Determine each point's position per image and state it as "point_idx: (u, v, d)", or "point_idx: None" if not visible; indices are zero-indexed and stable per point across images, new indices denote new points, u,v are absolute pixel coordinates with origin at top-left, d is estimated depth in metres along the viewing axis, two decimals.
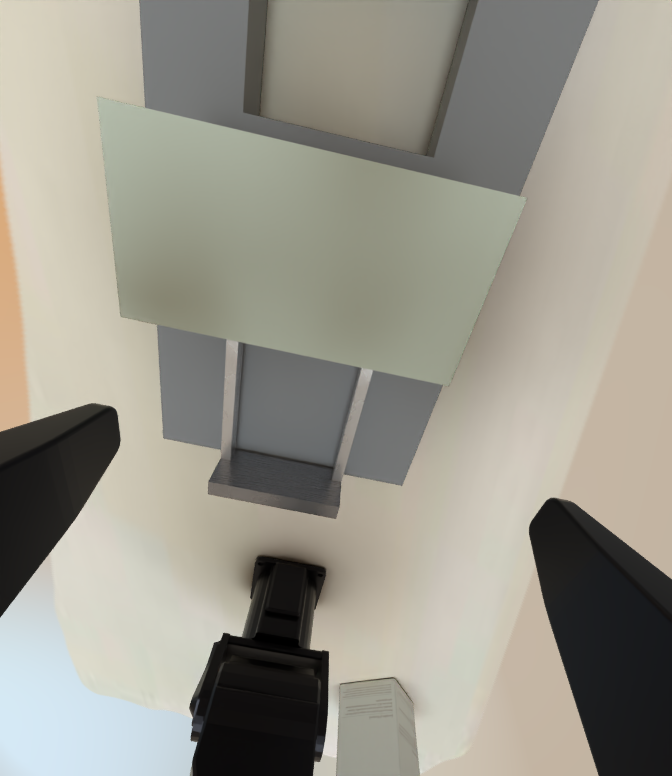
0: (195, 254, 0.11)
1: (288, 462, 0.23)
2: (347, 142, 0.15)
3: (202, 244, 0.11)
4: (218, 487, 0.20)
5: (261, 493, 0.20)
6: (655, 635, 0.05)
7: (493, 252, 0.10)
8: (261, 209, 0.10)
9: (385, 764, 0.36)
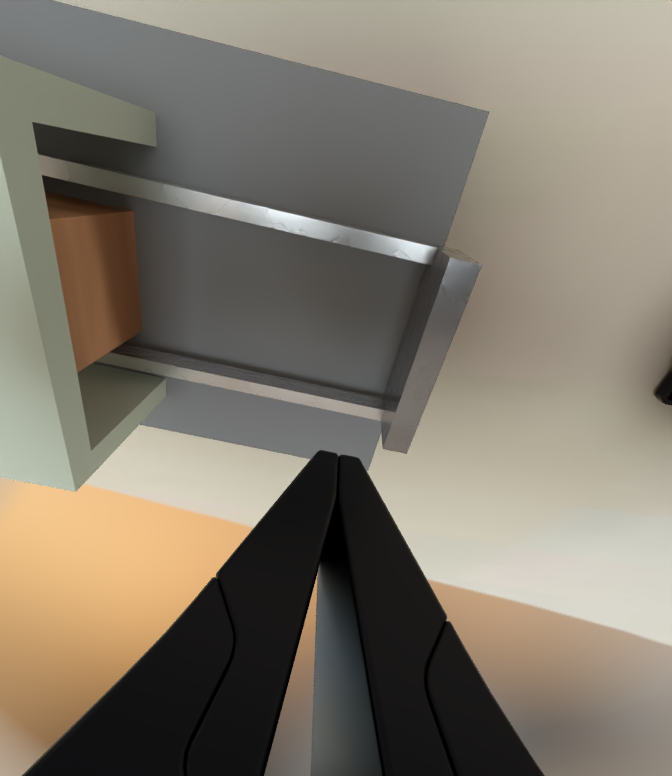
0: None
1: (405, 332, 0.15)
2: None
3: None
4: (394, 439, 0.14)
5: (408, 384, 0.13)
6: (342, 575, 0.05)
7: None
8: None
9: None
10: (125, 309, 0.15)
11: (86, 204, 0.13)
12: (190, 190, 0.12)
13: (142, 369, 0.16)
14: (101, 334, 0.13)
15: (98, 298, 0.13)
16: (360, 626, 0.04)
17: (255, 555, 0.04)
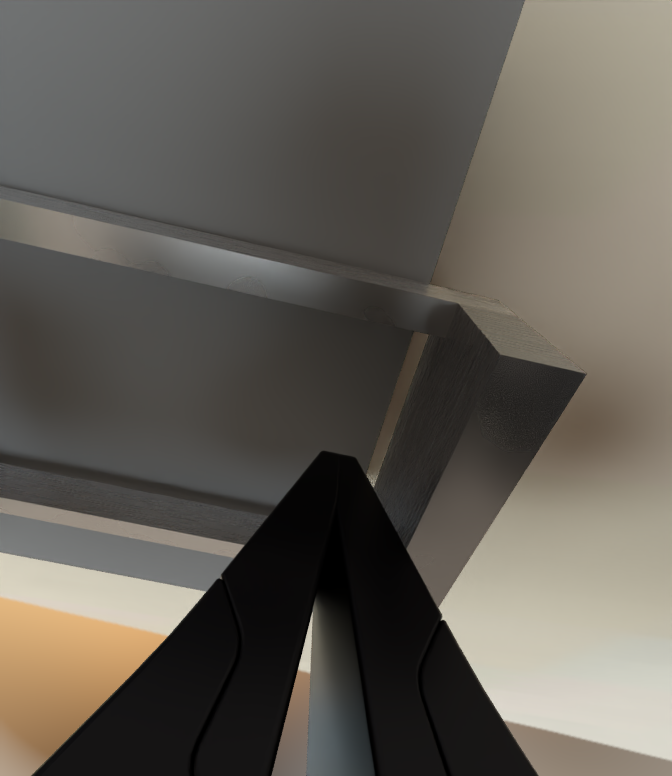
0: None
1: (392, 442, 0.08)
2: None
3: None
4: None
5: None
6: (337, 574, 0.05)
7: None
8: None
9: None
10: None
11: None
12: None
13: None
14: None
15: None
16: (355, 625, 0.04)
17: (259, 556, 0.04)
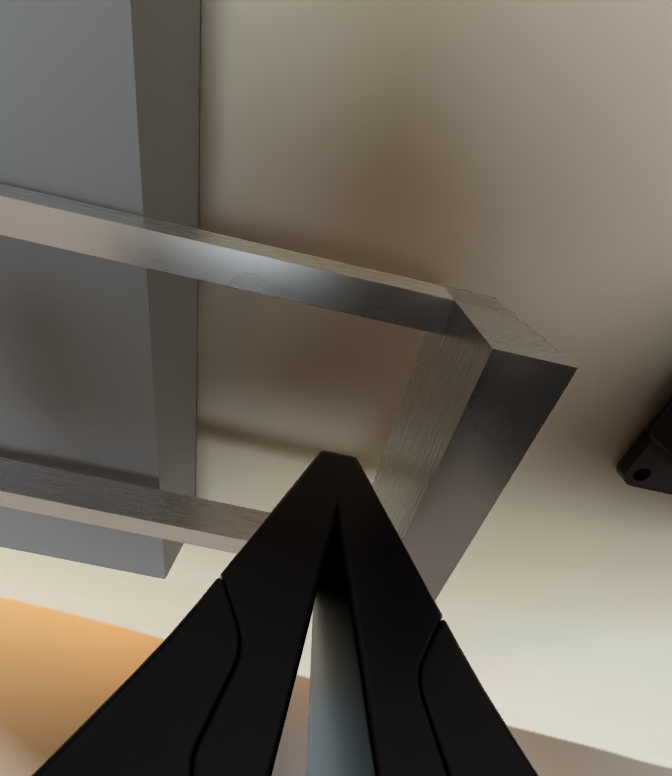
0: None
1: (390, 439, 0.08)
2: None
3: None
4: None
5: None
6: (337, 574, 0.05)
7: None
8: None
9: None
10: None
11: None
12: None
13: None
14: None
15: None
16: (354, 625, 0.04)
17: (260, 556, 0.04)
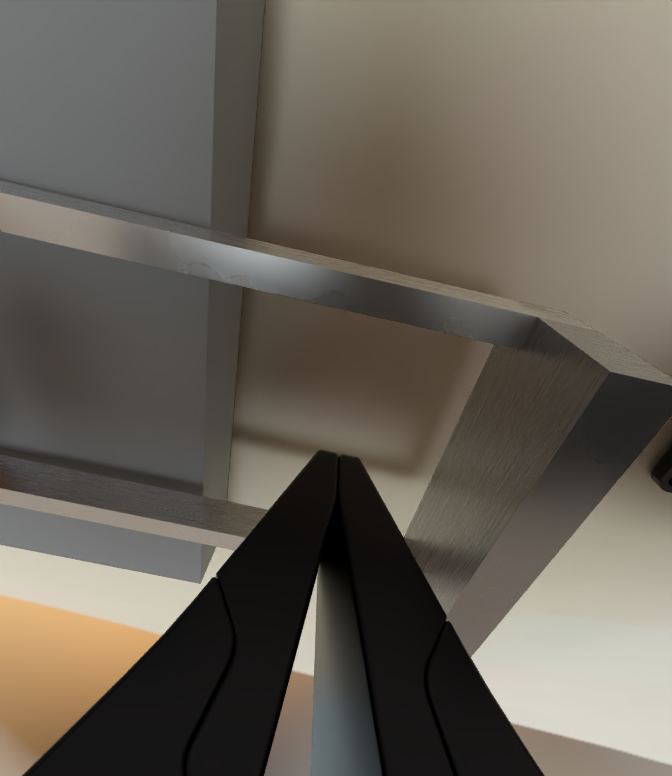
0: None
1: (449, 448, 0.08)
2: None
3: None
4: None
5: (467, 594, 0.06)
6: (342, 575, 0.05)
7: None
8: None
9: None
10: None
11: None
12: None
13: None
14: None
15: None
16: (360, 626, 0.04)
17: (255, 555, 0.04)
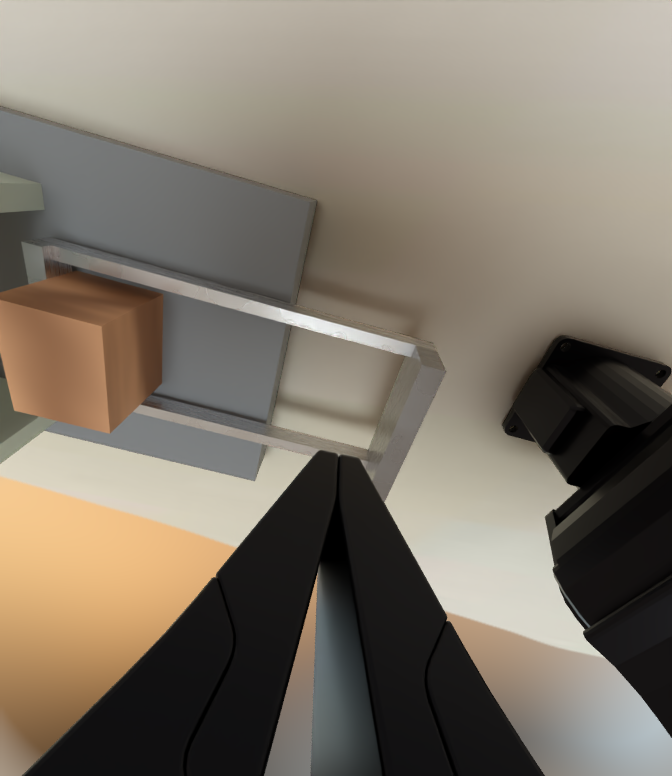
0: None
1: (388, 400, 0.18)
2: None
3: None
4: None
5: (387, 451, 0.16)
6: (342, 575, 0.05)
7: None
8: None
9: None
10: (150, 371, 0.17)
11: (126, 291, 0.16)
12: (220, 292, 0.15)
13: (167, 419, 0.19)
14: (132, 395, 0.16)
15: (132, 369, 0.16)
16: (360, 626, 0.04)
17: (255, 555, 0.04)
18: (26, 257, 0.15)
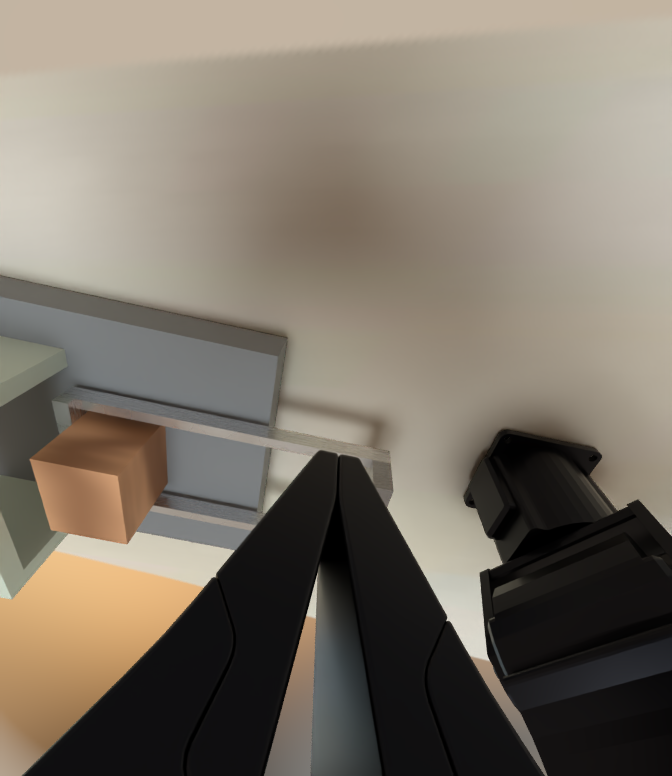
0: None
1: None
2: None
3: None
4: None
5: None
6: (341, 575, 0.05)
7: None
8: None
9: None
10: (158, 480, 0.21)
11: (135, 424, 0.19)
12: (210, 426, 0.19)
13: (173, 514, 0.22)
14: (144, 507, 0.20)
15: (143, 488, 0.19)
16: (360, 626, 0.04)
17: (255, 555, 0.04)
18: (55, 409, 0.18)
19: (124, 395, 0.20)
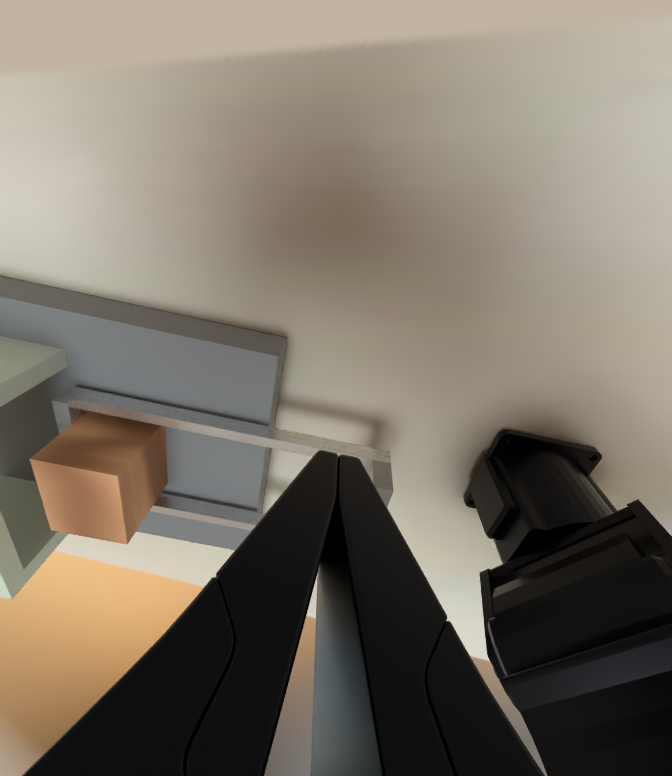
0: None
1: None
2: None
3: None
4: None
5: None
6: (341, 575, 0.05)
7: None
8: None
9: None
10: (158, 480, 0.21)
11: (135, 424, 0.19)
12: (210, 426, 0.19)
13: (173, 514, 0.22)
14: (144, 507, 0.20)
15: (143, 488, 0.19)
16: (360, 626, 0.04)
17: (255, 555, 0.04)
18: (55, 409, 0.18)
19: (124, 395, 0.20)
